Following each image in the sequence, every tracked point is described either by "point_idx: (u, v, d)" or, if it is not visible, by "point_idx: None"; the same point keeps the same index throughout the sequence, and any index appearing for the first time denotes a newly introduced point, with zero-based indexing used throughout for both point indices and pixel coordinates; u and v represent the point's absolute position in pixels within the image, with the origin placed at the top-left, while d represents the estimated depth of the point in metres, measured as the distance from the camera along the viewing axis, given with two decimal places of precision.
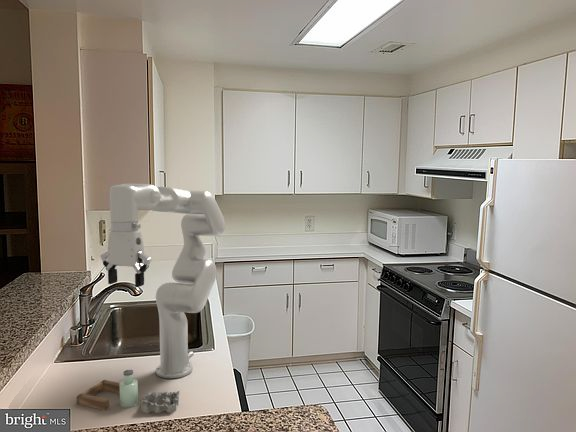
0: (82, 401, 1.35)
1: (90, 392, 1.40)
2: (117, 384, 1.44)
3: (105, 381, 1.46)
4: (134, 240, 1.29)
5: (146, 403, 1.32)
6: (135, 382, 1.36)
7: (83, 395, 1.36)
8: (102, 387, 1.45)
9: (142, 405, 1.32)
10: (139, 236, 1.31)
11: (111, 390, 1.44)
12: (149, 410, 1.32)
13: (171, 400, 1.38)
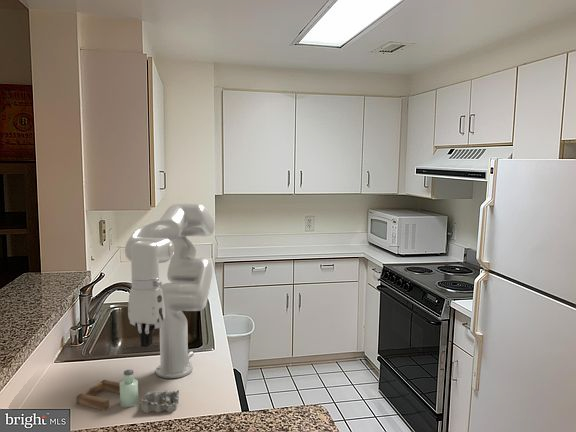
0: (82, 401, 1.35)
1: (90, 392, 1.40)
2: (117, 384, 1.44)
3: (105, 381, 1.46)
4: (155, 298, 1.28)
5: (146, 403, 1.32)
6: (135, 382, 1.37)
7: (83, 395, 1.36)
8: (102, 387, 1.45)
9: (142, 405, 1.32)
10: (160, 293, 1.30)
11: (111, 390, 1.44)
12: (149, 409, 1.32)
13: (171, 399, 1.38)
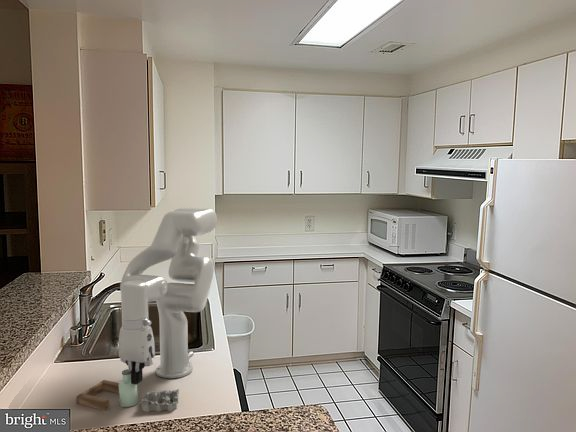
0: (82, 401, 1.35)
1: (90, 392, 1.40)
2: (117, 384, 1.44)
3: (105, 381, 1.46)
4: (145, 337, 1.31)
5: (146, 402, 1.32)
6: None
7: (83, 395, 1.36)
8: (102, 387, 1.45)
9: (142, 404, 1.33)
10: (150, 332, 1.33)
11: (111, 390, 1.44)
12: (149, 409, 1.33)
13: (170, 398, 1.39)
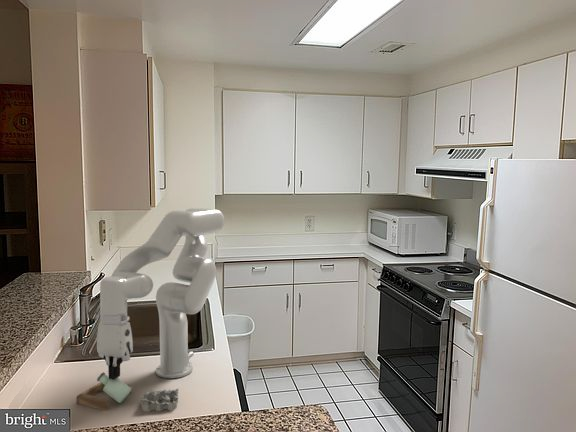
0: (82, 401, 1.35)
1: (90, 392, 1.40)
2: None
3: None
4: (123, 332, 1.33)
5: (147, 402, 1.32)
6: None
7: (83, 395, 1.36)
8: (102, 387, 1.45)
9: (142, 404, 1.33)
10: (128, 327, 1.35)
11: None
12: (150, 409, 1.33)
13: (170, 398, 1.39)
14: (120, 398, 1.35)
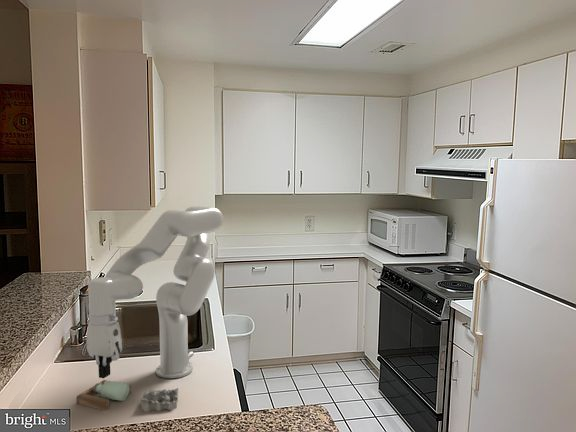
0: (82, 401, 1.35)
1: (90, 392, 1.40)
2: None
3: (105, 381, 1.46)
4: (111, 332, 1.35)
5: (147, 401, 1.33)
6: None
7: (83, 395, 1.36)
8: None
9: (142, 404, 1.33)
10: (116, 327, 1.37)
11: None
12: (150, 408, 1.33)
13: (170, 397, 1.39)
14: (119, 389, 1.37)
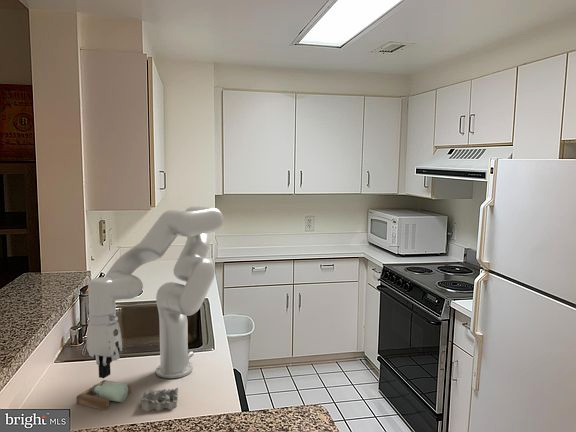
0: (82, 401, 1.35)
1: (90, 392, 1.40)
2: None
3: (105, 381, 1.46)
4: (111, 332, 1.35)
5: (147, 401, 1.33)
6: None
7: (83, 395, 1.36)
8: None
9: (142, 403, 1.33)
10: (117, 327, 1.37)
11: None
12: (150, 408, 1.33)
13: (169, 397, 1.39)
14: (117, 393, 1.36)
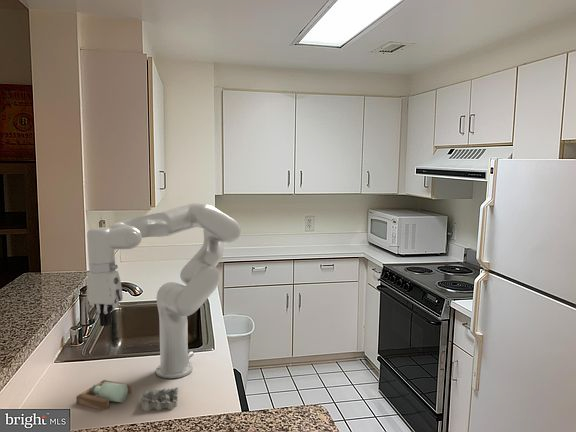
0: (82, 401, 1.35)
1: (90, 392, 1.40)
2: None
3: (105, 381, 1.46)
4: (112, 280, 1.37)
5: (147, 401, 1.33)
6: None
7: (83, 395, 1.36)
8: None
9: (142, 403, 1.33)
10: (117, 276, 1.39)
11: None
12: (150, 408, 1.33)
13: (169, 397, 1.40)
14: (116, 394, 1.36)
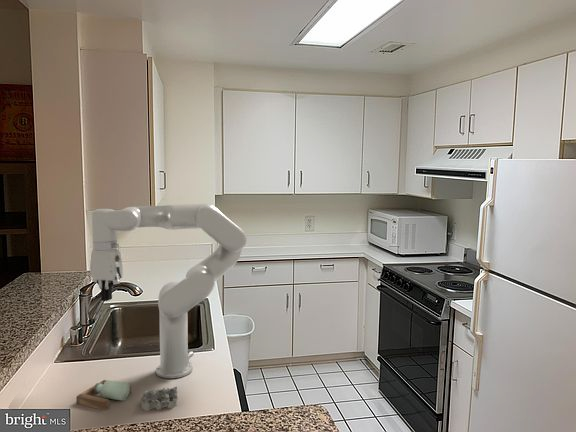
0: (82, 401, 1.35)
1: (90, 392, 1.40)
2: None
3: (105, 381, 1.46)
4: (113, 258, 1.47)
5: (147, 401, 1.33)
6: None
7: (83, 395, 1.36)
8: None
9: (142, 403, 1.33)
10: (118, 254, 1.49)
11: None
12: (150, 407, 1.33)
13: (169, 396, 1.40)
14: (119, 388, 1.37)
